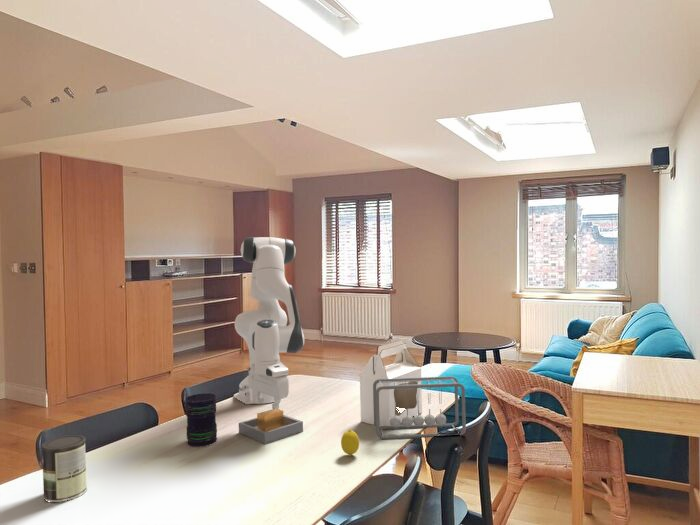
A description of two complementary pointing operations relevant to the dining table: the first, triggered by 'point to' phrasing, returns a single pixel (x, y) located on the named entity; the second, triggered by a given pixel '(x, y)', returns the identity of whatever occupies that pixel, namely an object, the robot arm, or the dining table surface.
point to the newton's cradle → (418, 418)
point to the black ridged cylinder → (201, 420)
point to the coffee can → (64, 468)
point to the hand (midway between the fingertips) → (267, 406)
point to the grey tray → (288, 429)
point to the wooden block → (270, 420)
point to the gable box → (388, 397)
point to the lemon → (350, 442)
